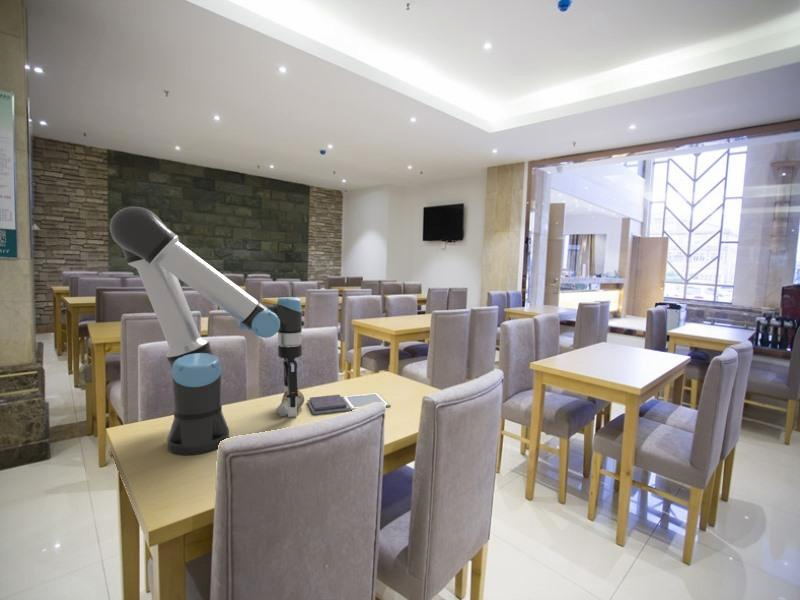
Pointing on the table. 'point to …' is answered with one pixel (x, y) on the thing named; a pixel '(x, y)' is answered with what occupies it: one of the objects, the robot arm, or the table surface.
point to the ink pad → (327, 404)
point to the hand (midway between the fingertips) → (290, 410)
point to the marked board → (363, 400)
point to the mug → (283, 406)
